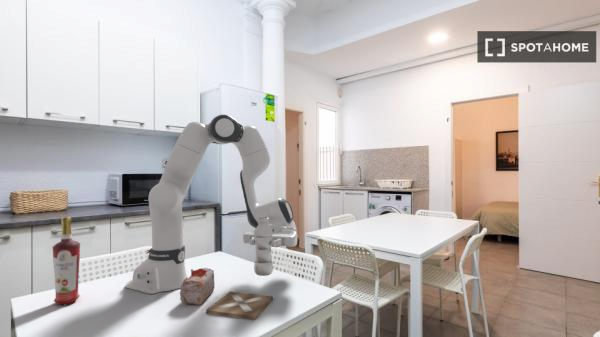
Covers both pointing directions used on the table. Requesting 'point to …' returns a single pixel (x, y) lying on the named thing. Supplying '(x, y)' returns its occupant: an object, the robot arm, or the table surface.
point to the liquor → (66, 265)
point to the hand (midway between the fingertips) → (262, 243)
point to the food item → (197, 286)
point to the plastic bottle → (263, 248)
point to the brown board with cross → (240, 305)
